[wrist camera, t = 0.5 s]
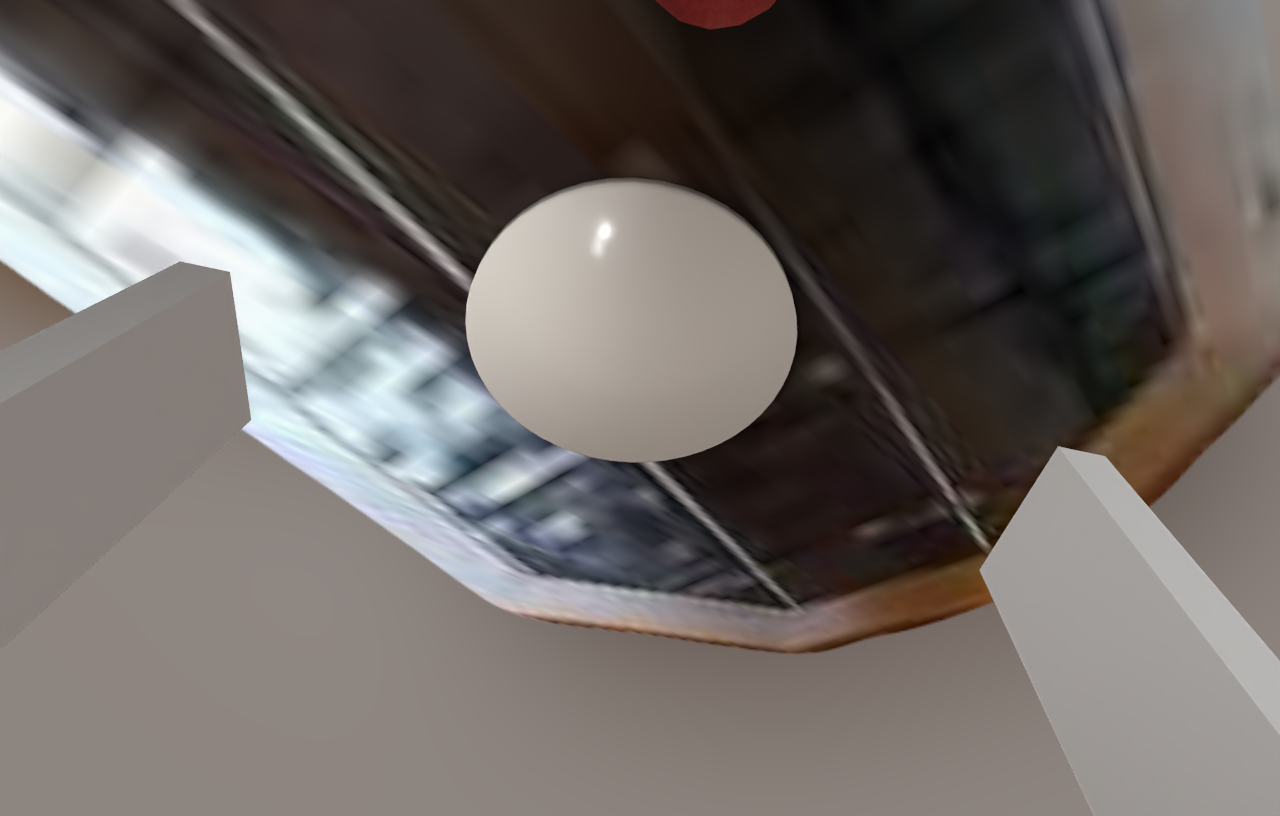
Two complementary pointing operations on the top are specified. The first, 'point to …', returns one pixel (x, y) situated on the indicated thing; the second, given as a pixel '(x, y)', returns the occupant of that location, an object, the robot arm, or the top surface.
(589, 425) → the plate
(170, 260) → the top surface
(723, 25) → the onion
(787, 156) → the top surface
